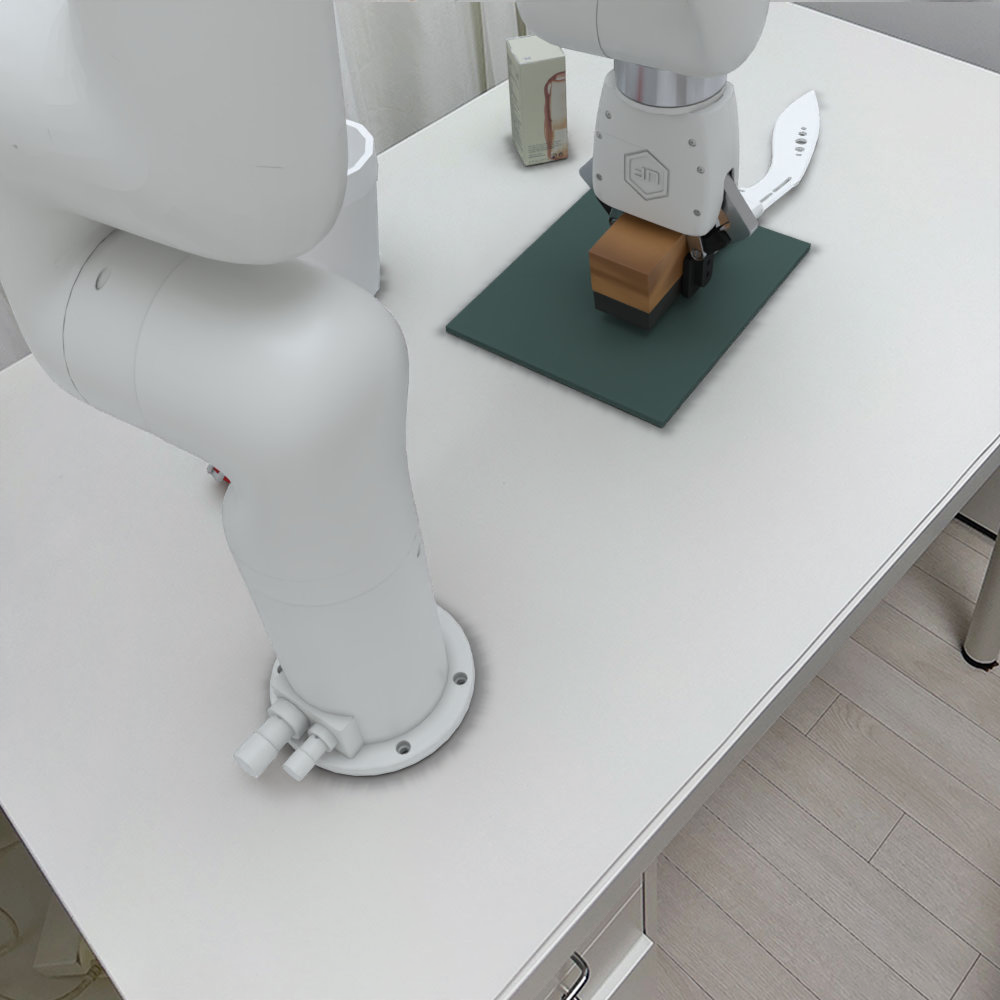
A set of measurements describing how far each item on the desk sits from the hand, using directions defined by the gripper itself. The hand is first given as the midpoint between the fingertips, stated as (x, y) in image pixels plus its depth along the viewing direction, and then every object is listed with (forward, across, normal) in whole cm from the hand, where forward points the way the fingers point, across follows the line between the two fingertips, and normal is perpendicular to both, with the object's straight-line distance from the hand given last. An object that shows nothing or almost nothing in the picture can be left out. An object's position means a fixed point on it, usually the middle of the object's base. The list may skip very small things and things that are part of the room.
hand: (662, 273), depth 88 cm
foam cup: (+2, -23, -13) cm, 27 cm away
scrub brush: (0, 0, 0) cm, 0 cm away
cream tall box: (+3, -21, +12) cm, 24 cm away
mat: (+2, -2, -1) cm, 3 cm away
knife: (+2, -1, +17) cm, 17 cm away
